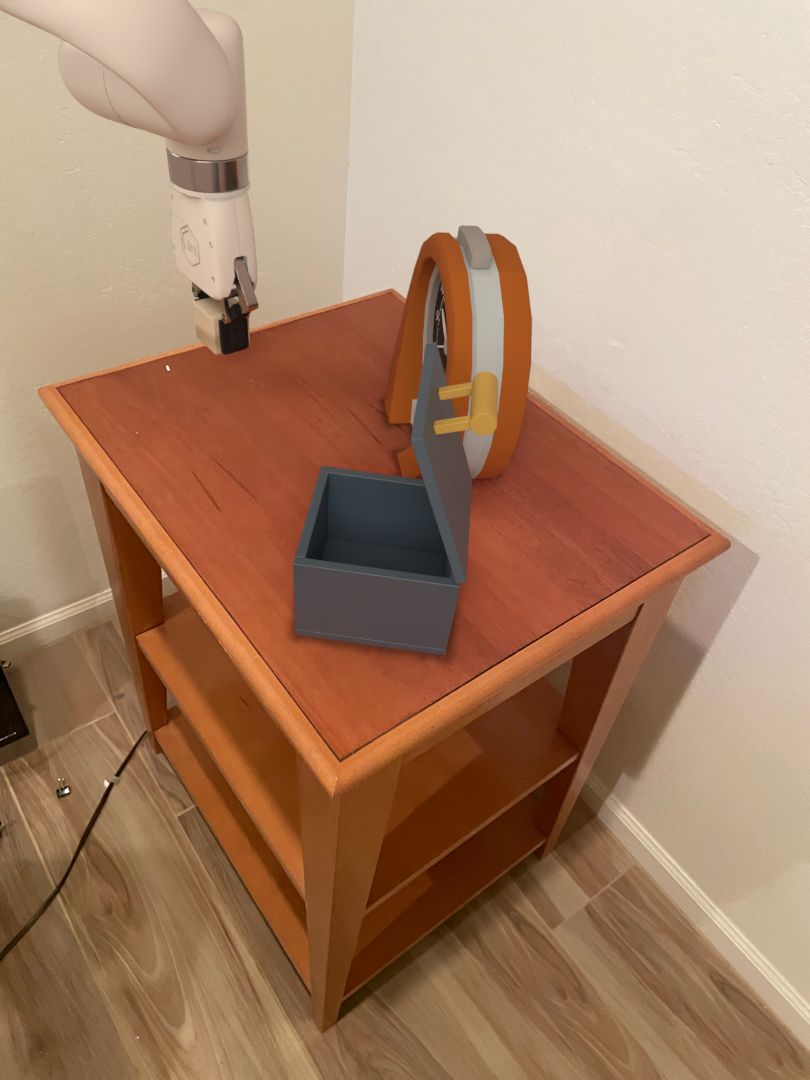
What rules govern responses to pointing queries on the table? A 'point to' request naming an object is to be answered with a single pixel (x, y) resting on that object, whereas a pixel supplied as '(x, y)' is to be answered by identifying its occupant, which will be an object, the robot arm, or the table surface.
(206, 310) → the block
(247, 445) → the table surface
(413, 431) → the lid
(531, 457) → the table surface
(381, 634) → the chest
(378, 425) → the table surface
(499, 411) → the alarm clock
